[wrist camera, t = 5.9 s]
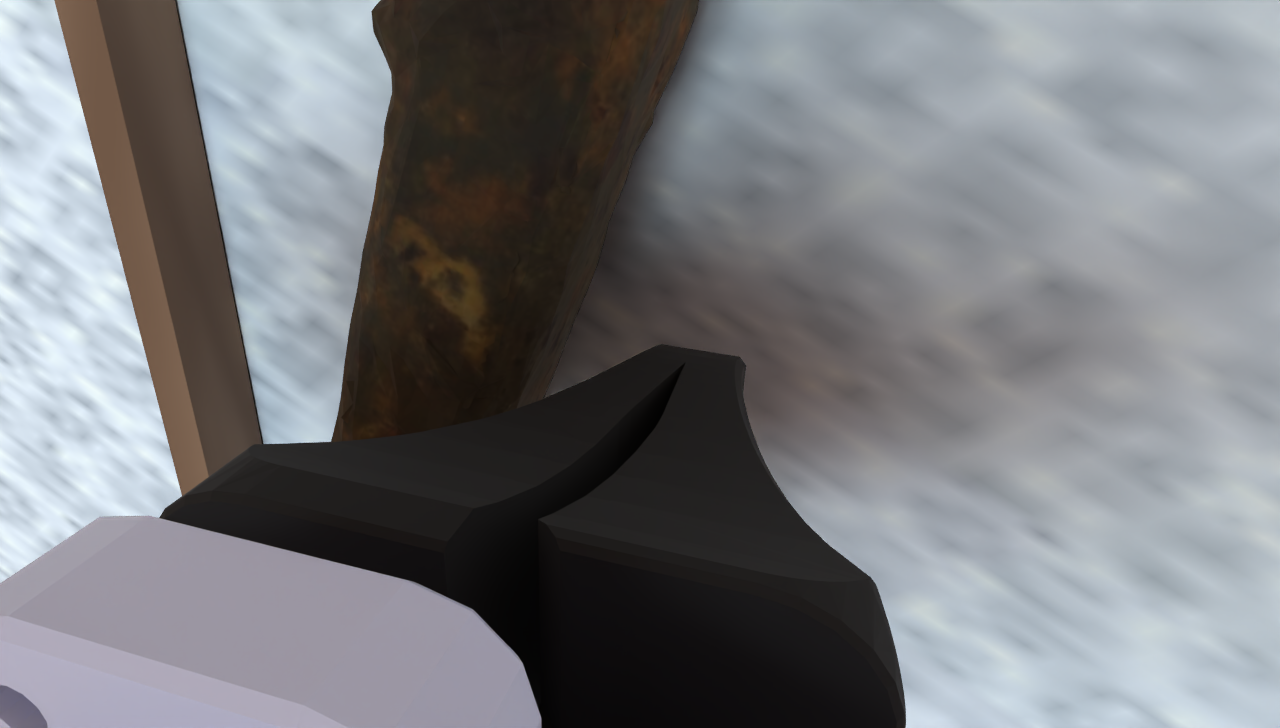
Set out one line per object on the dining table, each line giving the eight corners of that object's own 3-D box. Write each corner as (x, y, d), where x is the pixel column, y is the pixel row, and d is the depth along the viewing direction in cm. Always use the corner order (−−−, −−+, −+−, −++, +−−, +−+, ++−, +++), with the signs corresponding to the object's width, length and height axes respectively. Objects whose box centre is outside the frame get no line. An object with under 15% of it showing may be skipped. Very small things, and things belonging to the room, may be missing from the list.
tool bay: (772, -877, 8) (749, -1059, 6) (643, 854, 19) (625, 917, 18) (-20, -721, 10) (-159, -830, 8) (297, 746, 21) (259, 796, 20)
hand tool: (600, -549, 9) (364, -982, 5) (917, -411, 9) (938, -751, 5) (320, 553, 18) (159, 711, 14) (469, 635, 18) (348, 820, 14)
